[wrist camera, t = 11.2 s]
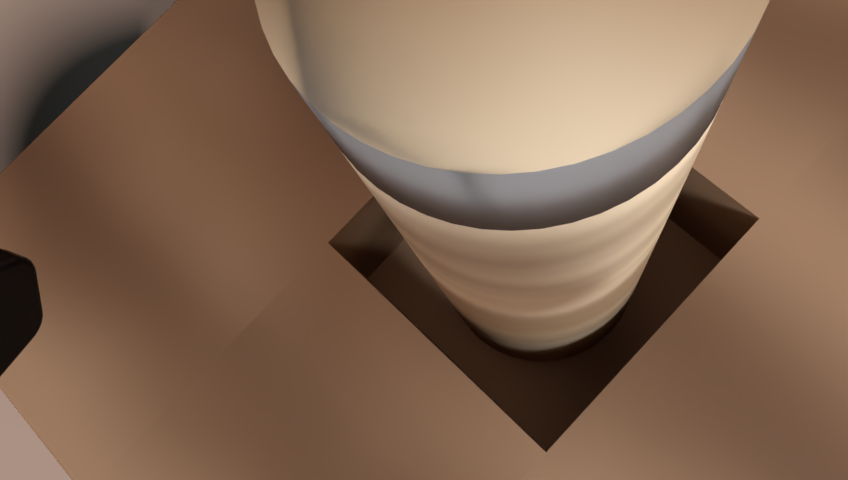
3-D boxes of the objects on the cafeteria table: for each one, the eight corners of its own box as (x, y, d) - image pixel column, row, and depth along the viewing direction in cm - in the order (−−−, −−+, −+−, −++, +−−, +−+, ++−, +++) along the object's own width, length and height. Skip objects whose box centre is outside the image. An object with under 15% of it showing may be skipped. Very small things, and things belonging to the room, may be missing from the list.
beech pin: (636, 363, 18) (807, 168, 6) (446, 359, 19) (227, 179, 6) (630, 182, 19) (765, -317, 7) (452, 184, 20) (274, -259, 7)
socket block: (575, 965, 16) (580, 1131, 12) (20, 299, 22) (-96, 266, 18) (1190, 243, 17) (1370, 184, 13) (514, -195, 23) (506, -321, 19)
